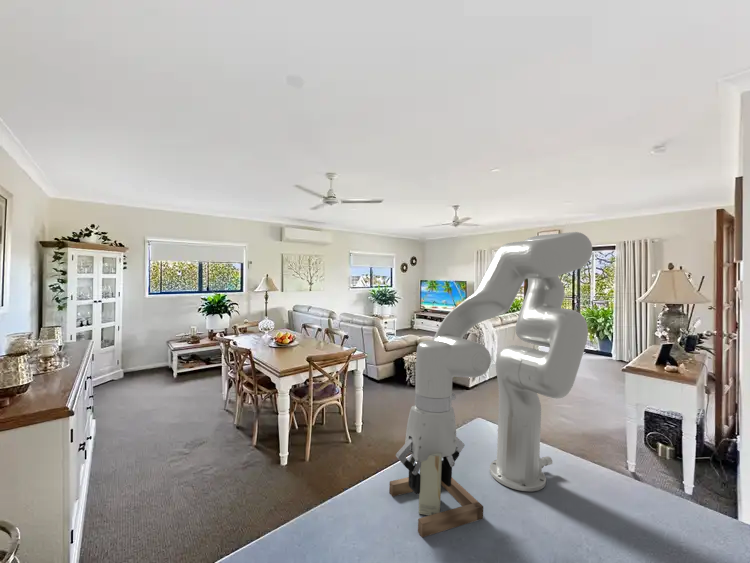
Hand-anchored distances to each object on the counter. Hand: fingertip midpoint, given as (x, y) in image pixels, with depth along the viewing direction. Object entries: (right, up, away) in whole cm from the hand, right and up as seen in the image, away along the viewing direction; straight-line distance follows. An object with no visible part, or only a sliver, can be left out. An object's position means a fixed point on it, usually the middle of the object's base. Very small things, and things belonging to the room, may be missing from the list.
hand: (430, 485), depth 72 cm
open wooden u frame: (+1, -4, 0) cm, 4 cm away
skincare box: (0, -5, 0) cm, 5 cm away
